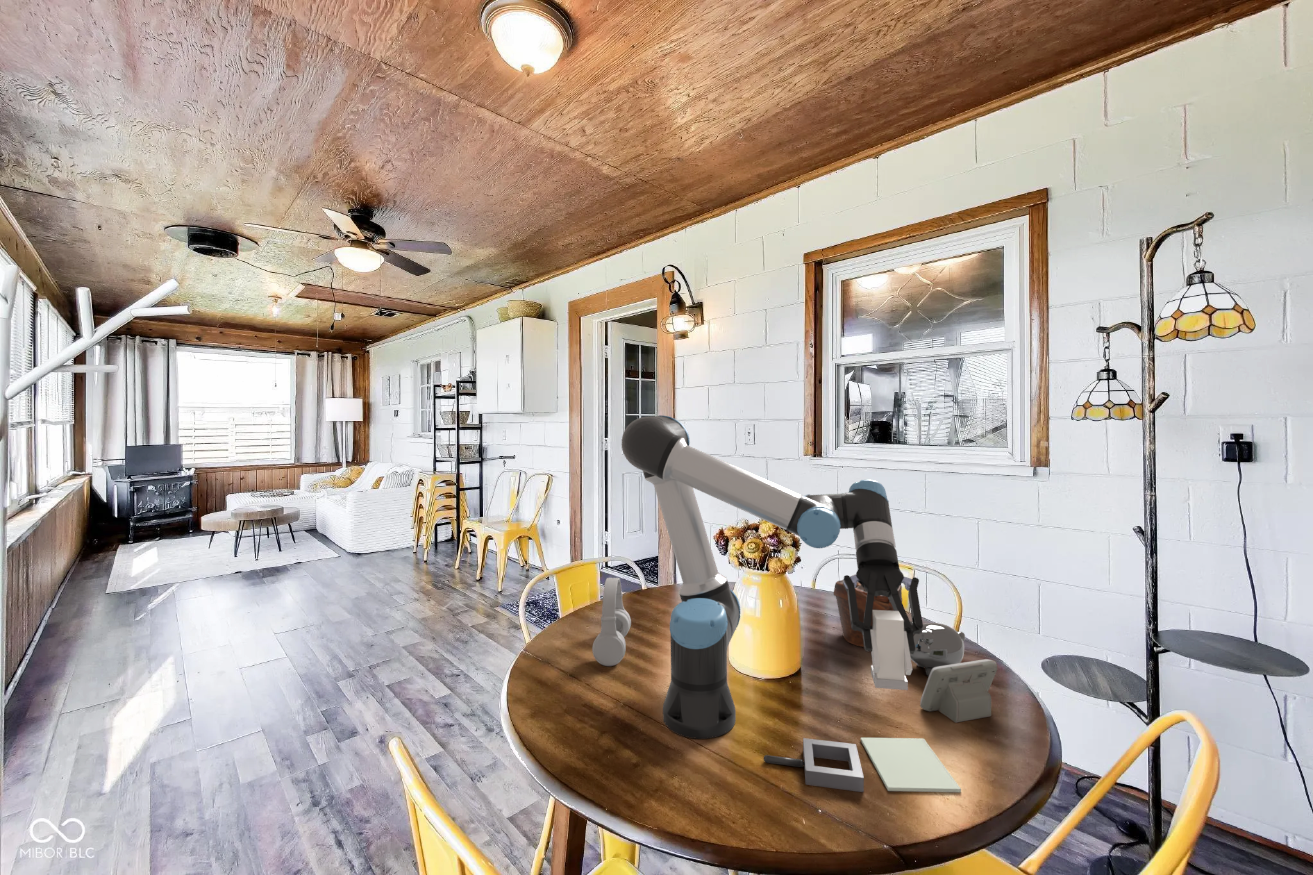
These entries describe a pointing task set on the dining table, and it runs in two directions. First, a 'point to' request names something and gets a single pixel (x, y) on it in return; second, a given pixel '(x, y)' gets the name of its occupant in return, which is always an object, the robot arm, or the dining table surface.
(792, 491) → the robot arm
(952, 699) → the digital clock
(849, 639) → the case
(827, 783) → the socket block
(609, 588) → the headphones
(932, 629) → the piggy bank
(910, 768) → the mat
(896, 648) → the plug
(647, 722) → the dining table surface
